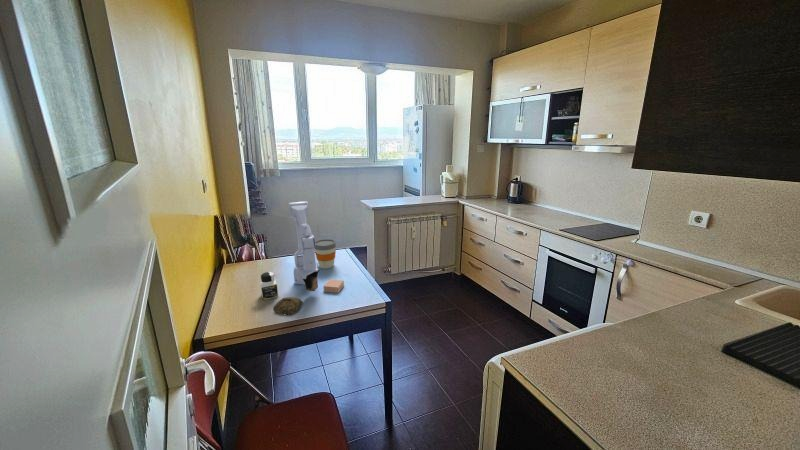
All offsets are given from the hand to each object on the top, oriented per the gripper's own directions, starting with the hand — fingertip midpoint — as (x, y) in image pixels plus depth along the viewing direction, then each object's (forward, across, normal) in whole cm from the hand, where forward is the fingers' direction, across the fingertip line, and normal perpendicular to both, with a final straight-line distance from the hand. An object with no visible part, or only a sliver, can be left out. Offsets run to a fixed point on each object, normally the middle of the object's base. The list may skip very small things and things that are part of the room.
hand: (311, 285), depth 165 cm
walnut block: (+2, 0, 0) cm, 2 cm away
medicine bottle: (+6, -4, +21) cm, 22 cm away
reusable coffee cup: (+6, +37, +8) cm, 38 cm away
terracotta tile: (+5, +9, -8) cm, 13 cm away
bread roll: (+6, -14, +6) cm, 16 cm away
